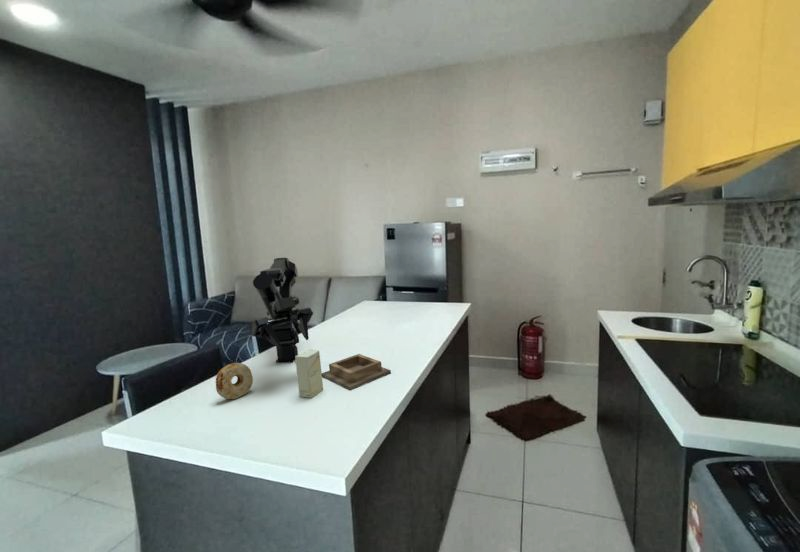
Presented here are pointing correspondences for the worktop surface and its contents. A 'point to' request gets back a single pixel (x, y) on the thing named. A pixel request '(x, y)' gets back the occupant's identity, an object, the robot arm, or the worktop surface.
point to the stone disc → (242, 384)
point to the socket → (355, 371)
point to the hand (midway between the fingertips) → (294, 343)
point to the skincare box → (309, 373)
